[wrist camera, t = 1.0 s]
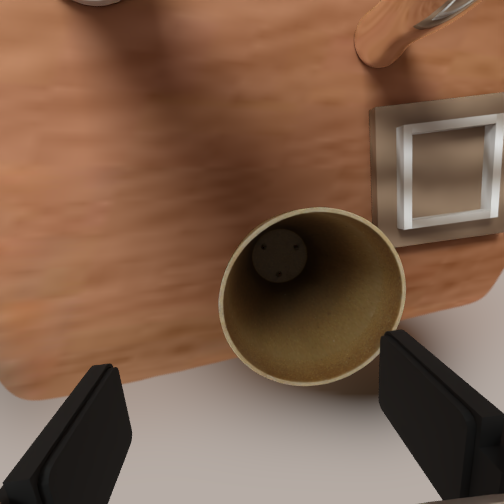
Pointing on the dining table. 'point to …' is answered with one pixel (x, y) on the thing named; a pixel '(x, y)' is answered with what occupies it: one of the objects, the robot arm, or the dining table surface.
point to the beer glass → (403, 26)
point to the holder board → (438, 169)
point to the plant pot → (311, 296)
